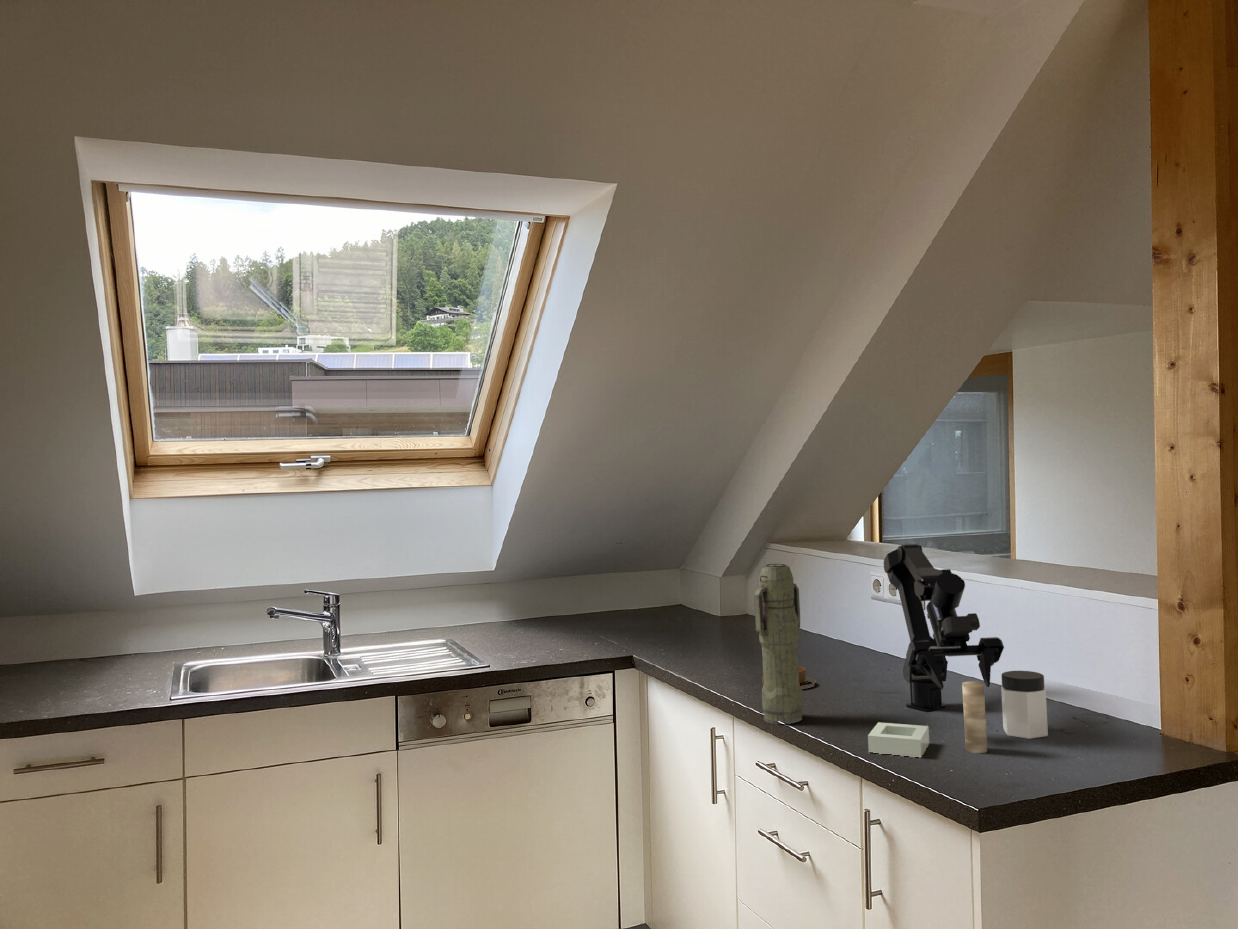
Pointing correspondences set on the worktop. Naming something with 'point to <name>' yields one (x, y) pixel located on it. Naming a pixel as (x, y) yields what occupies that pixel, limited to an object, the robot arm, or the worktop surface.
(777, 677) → the thermos
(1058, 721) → the worktop surface
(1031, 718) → the jar
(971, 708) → the dowel
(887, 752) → the pale green square holder
